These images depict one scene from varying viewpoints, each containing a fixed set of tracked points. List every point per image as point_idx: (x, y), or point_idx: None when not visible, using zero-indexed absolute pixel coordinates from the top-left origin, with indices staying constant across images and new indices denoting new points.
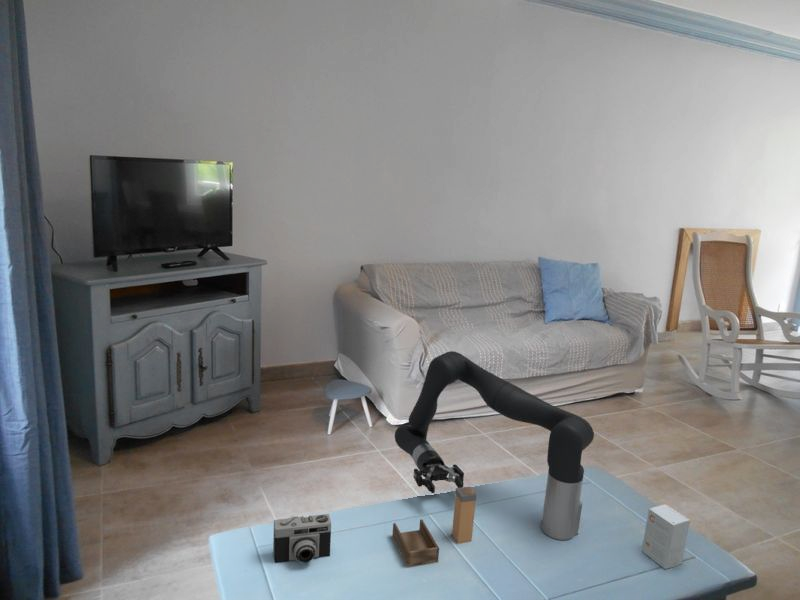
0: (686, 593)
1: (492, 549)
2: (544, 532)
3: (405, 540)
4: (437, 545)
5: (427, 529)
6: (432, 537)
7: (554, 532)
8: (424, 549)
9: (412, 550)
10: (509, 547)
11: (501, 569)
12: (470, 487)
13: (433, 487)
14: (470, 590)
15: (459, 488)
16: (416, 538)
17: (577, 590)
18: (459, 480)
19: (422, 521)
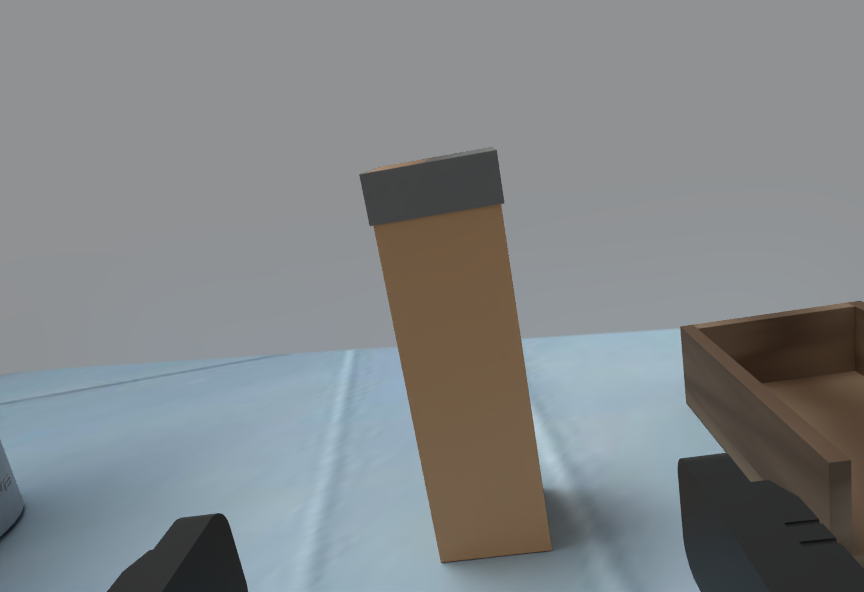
0: (22, 371)
1: (368, 458)
2: (5, 528)
3: None
4: (689, 333)
5: (760, 395)
6: (719, 360)
7: (11, 470)
8: (766, 318)
9: (856, 417)
10: (277, 467)
11: None
12: (365, 173)
13: (705, 457)
14: (571, 340)
15: (465, 154)
16: (854, 484)
17: (247, 360)
18: (159, 568)
19: (819, 445)
